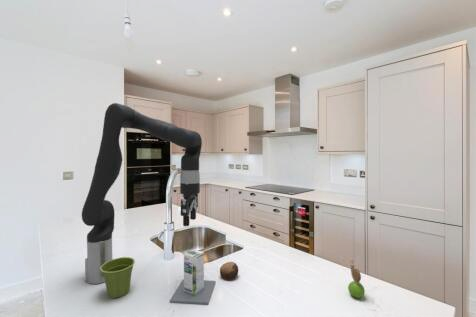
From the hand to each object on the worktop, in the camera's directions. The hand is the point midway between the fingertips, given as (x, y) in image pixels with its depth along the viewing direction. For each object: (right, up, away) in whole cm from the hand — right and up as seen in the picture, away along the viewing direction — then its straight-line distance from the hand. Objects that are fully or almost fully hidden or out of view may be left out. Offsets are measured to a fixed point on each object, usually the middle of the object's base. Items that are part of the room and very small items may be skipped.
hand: (189, 222), depth 90 cm
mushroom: (+15, -26, +9) cm, 32 cm away
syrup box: (+2, -26, -1) cm, 26 cm away
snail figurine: (+63, -26, -4) cm, 69 cm away
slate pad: (+2, -26, -2) cm, 27 cm away
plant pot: (-27, -27, -2) cm, 38 cm away
